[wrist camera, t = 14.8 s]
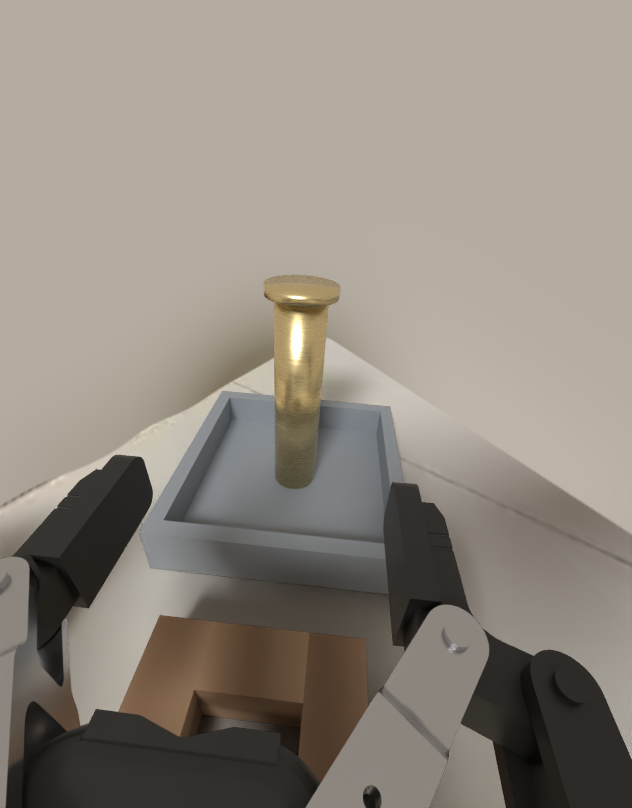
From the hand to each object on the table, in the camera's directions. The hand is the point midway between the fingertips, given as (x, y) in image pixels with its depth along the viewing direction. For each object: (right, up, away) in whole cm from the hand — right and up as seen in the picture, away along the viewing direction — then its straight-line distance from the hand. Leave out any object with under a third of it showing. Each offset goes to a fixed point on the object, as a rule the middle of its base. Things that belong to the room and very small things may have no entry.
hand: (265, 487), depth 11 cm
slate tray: (0, -4, +17) cm, 18 cm away
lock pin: (0, -3, +17) cm, 17 cm away
